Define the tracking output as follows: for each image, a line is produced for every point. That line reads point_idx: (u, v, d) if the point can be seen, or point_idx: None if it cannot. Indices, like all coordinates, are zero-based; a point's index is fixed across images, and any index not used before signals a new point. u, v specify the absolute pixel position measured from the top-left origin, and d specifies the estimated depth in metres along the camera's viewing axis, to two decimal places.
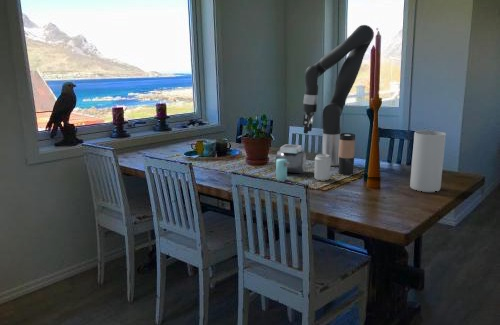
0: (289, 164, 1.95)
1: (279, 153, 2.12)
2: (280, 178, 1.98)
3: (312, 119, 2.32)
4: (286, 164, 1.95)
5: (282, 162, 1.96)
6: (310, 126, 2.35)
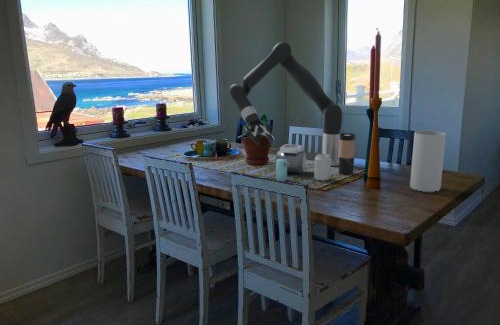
0: (289, 164, 1.95)
1: (279, 153, 2.12)
2: (280, 178, 1.98)
3: (263, 129, 2.09)
4: (286, 164, 1.95)
5: (282, 162, 1.96)
6: (268, 137, 2.10)
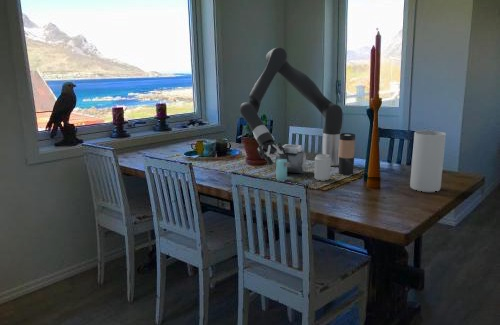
0: (289, 164, 1.95)
1: None
2: (280, 178, 1.98)
3: (276, 148, 2.04)
4: (286, 164, 1.95)
5: (282, 162, 1.96)
6: (282, 156, 2.04)
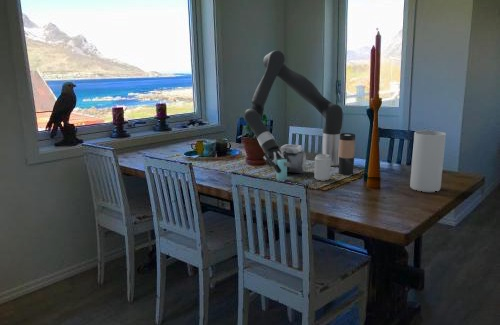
0: (289, 164, 1.95)
1: None
2: (280, 178, 1.98)
3: (280, 155, 2.01)
4: (286, 164, 1.95)
5: (282, 162, 1.96)
6: None
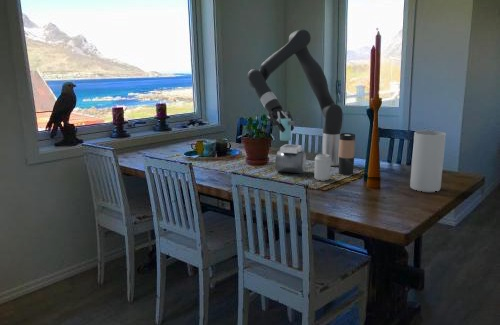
0: (293, 122, 1.94)
1: (279, 153, 2.12)
2: (284, 137, 1.97)
3: (284, 115, 2.00)
4: (290, 122, 1.94)
5: (286, 121, 1.95)
6: None
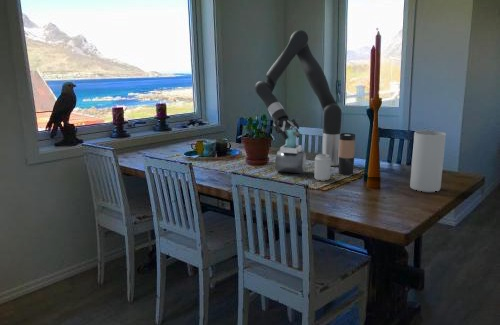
0: (298, 133, 2.07)
1: (279, 153, 2.12)
2: (289, 147, 2.10)
3: (290, 124, 2.13)
4: (295, 133, 2.07)
5: (291, 131, 2.08)
6: None
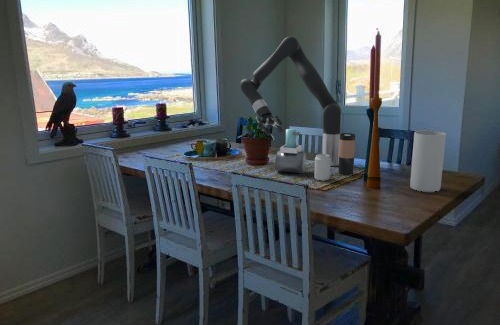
0: (298, 133, 2.07)
1: (279, 153, 2.12)
2: (289, 147, 2.10)
3: (273, 120, 2.23)
4: (295, 133, 2.07)
5: (292, 131, 2.08)
6: (279, 128, 2.24)
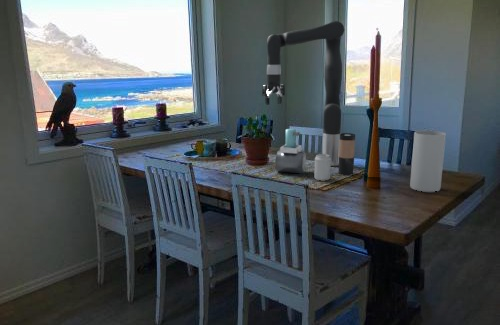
0: (298, 133, 2.07)
1: (279, 153, 2.12)
2: (290, 147, 2.10)
3: (278, 90, 2.24)
4: (295, 133, 2.07)
5: (291, 131, 2.08)
6: (279, 98, 2.27)
